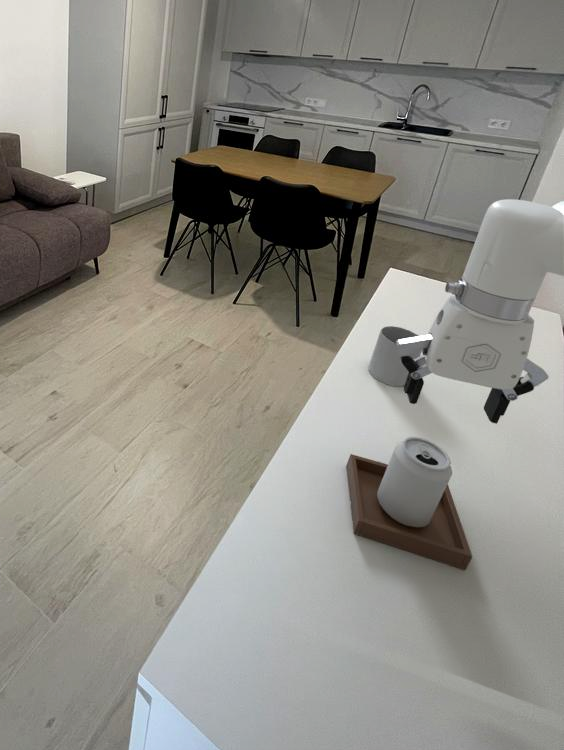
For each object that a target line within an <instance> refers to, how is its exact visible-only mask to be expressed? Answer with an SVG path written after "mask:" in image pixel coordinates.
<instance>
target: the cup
mask: <svg viewBox="0 0 564 750" xmlns="http://www.w3.org/2000/svg"><path fill="white" fill-rule="evenodd" d="M418 336H419V335H418V334H417V333H415V332H413V331H411V330H409V329H406V328H404V327H399V326H393V325H391V326H390V325H388V326H384V327H382V328H381V329H380V331H379V334H378V337H377V340H376V343H375V345H374V349H373V350H372V355H371V358H370V360H369V364H368V367H367V368H368V372H369V374H370V375H371V377H373V378H374V379H375V380H377V381H379V382H380V383H382V384H385V385H387V386H391V387H396V388H404V385H405V382H406V379H407V376H408V373H409V372H408V370H407V369H406V368H405V366H404V365H403V364H402V362H401V359H400V356H399V352H398V349H397V346H396V341H397V340H400V339H406V338H412V337H418ZM409 354H410V356H411V357H412V358H413V360H414V359H416V358H418V357H420V356H422V349H416V350H411V351H410V352H409Z"/></svg>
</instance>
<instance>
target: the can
mask: <svg viewBox="0 0 564 750" xmlns="http://www.w3.org/2000/svg"><path fill="white" fill-rule="evenodd" d="M387 464H388V466H387V469H386V471H385V474H384V477H383V479H382V482H381V484H380V487H379V489H378V492H377V498H378V501H379V503H380V505H381V506H382V508H383V509H384V510H385V511H386V513H387V514H388V515H389V516H390V517H392V518H393V519H394V520H396V521H397V522H399V523H401V524H404V525H407V526H413V527H424V526H426V525H427V524H429V523H430V520H431V518H432V516H433V514H434V512H435V510H436V508H437V505H438V503H439V501H440V499H441V497H442V495H443V493H444V491H445V488H446V486H447V484H448V485H449V482H450V480H451V478H452V476H453V469H452V466H451V465H452V462H451V458H450V456H449V454H448V453H447V452H446V451H445V450H444V449H443V448H442V447H440V446H439V445H438V444H436V443H435V442H433V441H431V440H429V439H426V438H423V437H419V436H408V437H406V438H404V439H403V440H402V441H400V442H398V443H396V445H395V447H394V449H393V451H392V454H391V457H390V458H389V462H388V463H387Z"/></svg>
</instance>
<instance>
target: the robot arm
mask: <svg viewBox="0 0 564 750" xmlns="http://www.w3.org/2000/svg"><path fill="white" fill-rule="evenodd" d="M547 273H552V274H554V275H557V276H561V277H564V200H562V201H559V202H557V203H555V204H554V205H552V206H549V205H546V204H543V203H541V202H540V203H539V202H534V201H530V200H525V199H524V200H523V199H514V198H513V199H511V198H510V199H509V198H508V199H499V200H497V201H494V202H493V203H492V204H490V205H489V206H488V207H487V209H486V212H485V214H484V216H483V219H482V222H481V225H480V227H479V229H478V233H477V236H476V238H475V241H474V244H473V245H472V248H471V252H470V255H469V258H468V260H467V263H466V265H465V268H464V271H463V274H462V276H460V277H459V279H458V281H457V282H455V281H454V282H450V281H448V282H446V284H445V289H444V290H445V293H449V294H451V295H450V296H449V297H448V298H447V300H446V301H445V302H444V304H443V305H442V307H441V308H440V310H439V311H438V313H437V315H436V316H435V319H434V321H433V322H432V325H431V326H430V328H429V330H428V333H427V334H424V335H418V337H412V338H406V339H400V340H397V341H396V346H397V349H398V352H399V356H400V359H401V362H402V364H403V365H404V366H405V368H406V369H407V370H408V372H409V373H408V376H407V379H406V382H405V385H404V387H403V392H404V394H406V395H407V398H408V401H409V404H412V405H415V404H417V403H418V401H419V398H420V395H421V393H422V390H423V387H424V383H425V382H424V377H426V376H428V375H430V374H434V375H436V376H438V377H441V378H445V379H448V380H449V379H450V380H454V381H458V382H462V383H467V384H472V385H477V386H481V387H486V388H491V390H490V391H489V394H488V396H487V398H486V401H485V403H484V405H483V411H484V413H485V414H486V417H487V418H488V421H489V422H490V423H492V424H497V425H498V422H499V421H500V418H501V417H504V415H505V413H506V411H507V410H508V407H509V405H510V402H513V401H516V400H517V399H518V398H519V396H522V395H525V394H528V393H531V392H533V391H534V390H535V387H539V385H541V384H542V383H544V382H545V381H547V380H548V379H549V374H548V373H547V372H546V370H544V369H543V368H542V367H541V366H539V365H538V364H537V363H534V362H533V361H532V360H530V358H528V356H529V352H530V348H531V343H532V339H533V334H534V329H535V328H534V327H535V319H534V318H533V317H532V316H530V315H529V314H530V312H531V310H532V307H533V305H534V303H535V300H536V297H537V296H538V293H539V291H540V289H541V286H542V284H543V283H544V280H545V278H546V275H547ZM416 349H422V352H421V355H420V357H418V358H416V359H414V360H413V358H412V357H411V356H410V354H409V352H410V351H411V350H416ZM523 371H524V372H525V373H526V374H525V376H522V373H523Z"/></svg>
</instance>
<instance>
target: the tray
mask: <svg viewBox="0 0 564 750" xmlns="http://www.w3.org/2000/svg"><path fill="white" fill-rule="evenodd" d="M388 464H389V463H385V462H381V461H376V460H373V459H370V458H365V457H363V456H359V455H355V454H352V453H350V454H349V456H348V460H347V462H346V468H345V469H346V475H347V485H348V494H350V495H349V502H350V501H351V504H350V510H351V511H352V513H351V521H353V522H352V530H354V531H353V534H354V533H355V534H354V535H357V534H358V535H357V536H360V535H361V536H360V537H363V538H366V537H367V539H369V540H372V541H375V542H378V543H381V544H384V545H387V546H390V547H394V548H396V549H399V550H402V551H405V552H408V553H412V554H415V555H418V556H422V557H423V558H427V559H430V560H433V561H437V562H440V563H442V564H445V565H448V566H451V567H454V568H457V569H461V570H464V571H466V570H467V568H468V566H469V565H470V562H471V561H472V559H473V554H472V551H471V549H470V546H469V543H468V540H467V536H466V534H465V531H464V527H463V525H462V522H461V519H460V515H459V512H458V510H457V506H456V504H455V501H454V497H453V495H452V493H451V490H450V486H449V483H448V484H447V486H446V488H445V491H444V493H443V495H442V497H441V499H440V501H439V503H438V505H437V508H436V510H435V512H434V514H433V516H432V518H431V520H430V523H429V524H427V525H426V526H424V527H413V526H407V525H404V524H401V523H399V522H397V521H396V520H394V519H393V518H392V517H390V516H389V515H388V514H387V513H386V511H385V510H384V509H383V508H382V506H381V505H380V503H379V501H378V498H377V492H378V489H379V487H380V484H381V482H382V479H383V477H384V474H385V471H386V469H387V466H388ZM351 511H350V512H351Z"/></svg>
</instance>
